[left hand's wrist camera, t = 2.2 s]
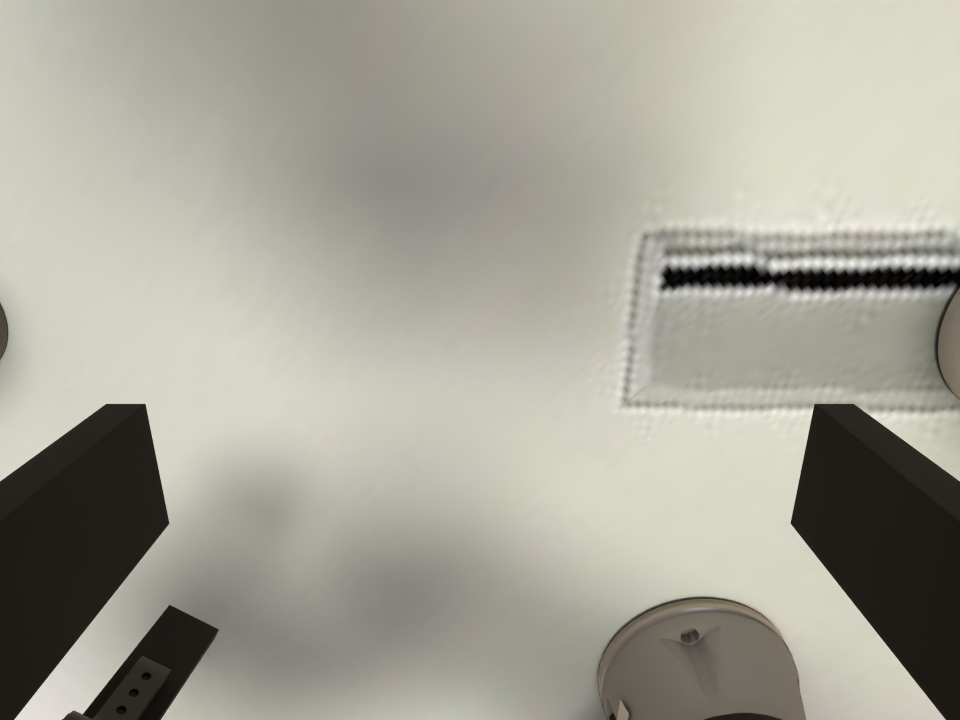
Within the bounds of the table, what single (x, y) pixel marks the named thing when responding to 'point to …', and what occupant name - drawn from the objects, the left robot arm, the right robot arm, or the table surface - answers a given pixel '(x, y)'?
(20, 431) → the table surface
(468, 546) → the table surface
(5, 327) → the jar
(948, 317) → the bust sculpture
